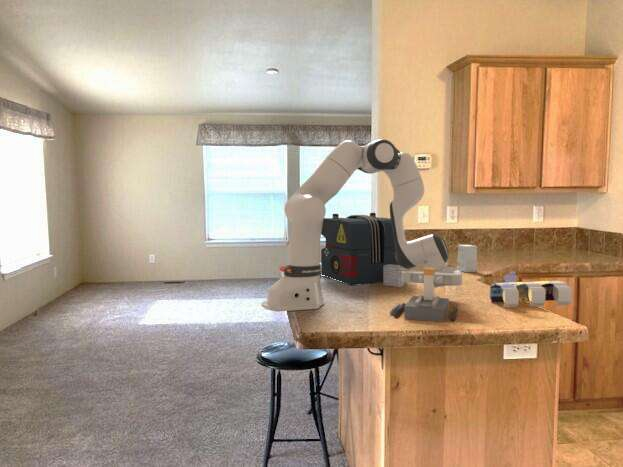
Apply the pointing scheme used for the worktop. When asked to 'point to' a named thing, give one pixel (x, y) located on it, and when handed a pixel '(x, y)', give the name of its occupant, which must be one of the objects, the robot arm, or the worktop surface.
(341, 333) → the worktop surface
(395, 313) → the cords
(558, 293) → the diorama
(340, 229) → the power unit
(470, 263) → the small box
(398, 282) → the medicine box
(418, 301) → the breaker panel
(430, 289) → the lever
